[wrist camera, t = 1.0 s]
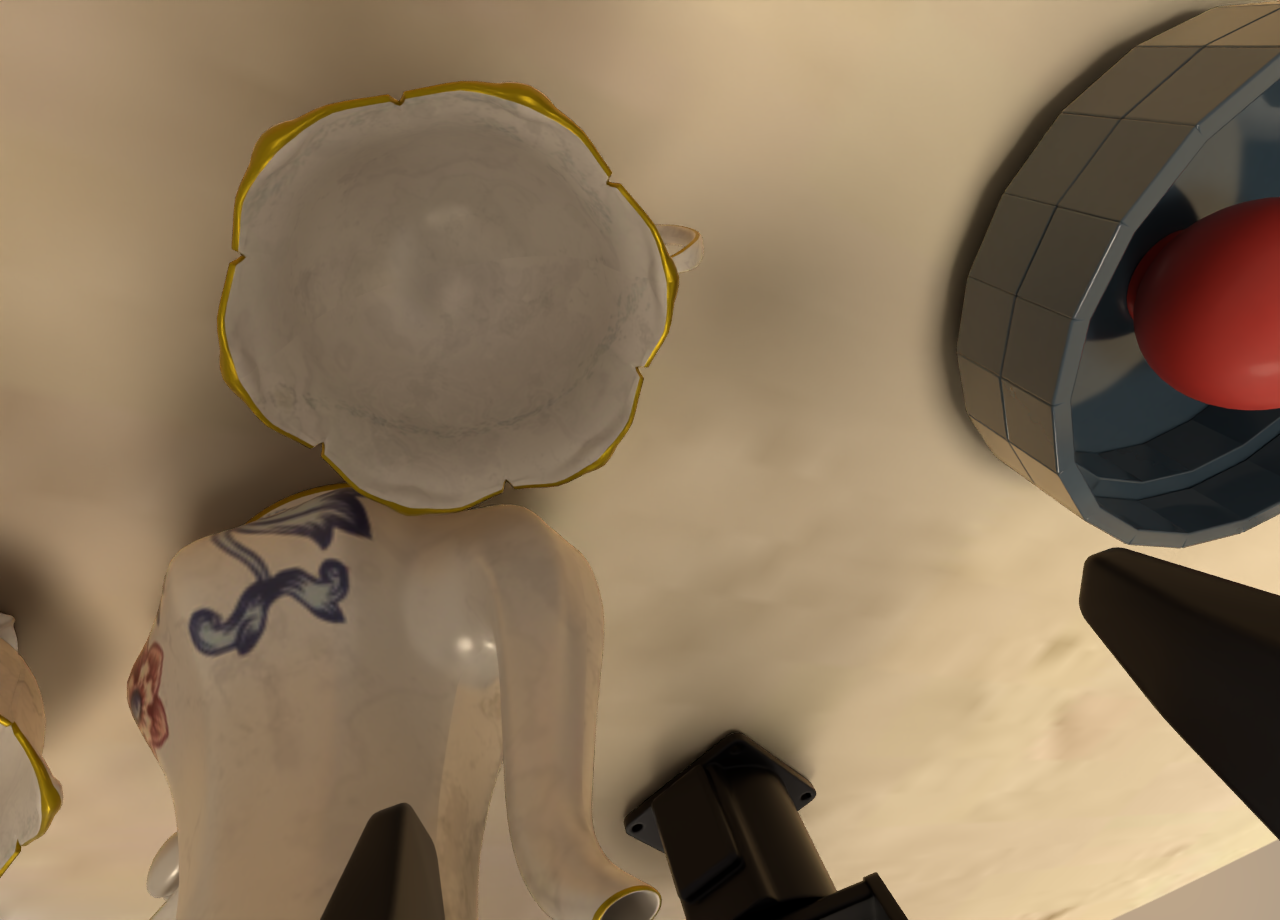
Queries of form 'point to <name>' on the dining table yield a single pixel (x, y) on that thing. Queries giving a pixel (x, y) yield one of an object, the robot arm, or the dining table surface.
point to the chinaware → (397, 515)
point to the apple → (1214, 307)
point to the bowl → (1098, 283)
